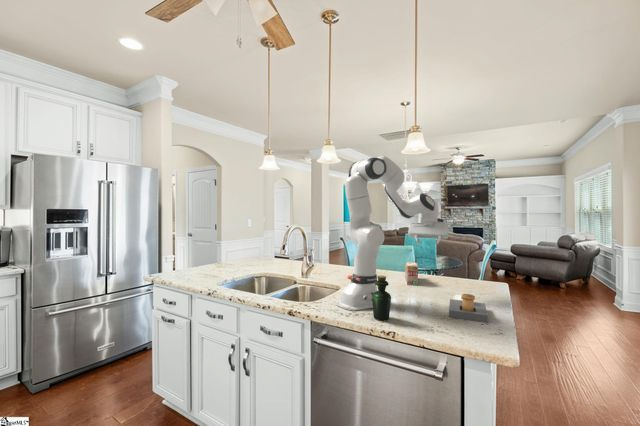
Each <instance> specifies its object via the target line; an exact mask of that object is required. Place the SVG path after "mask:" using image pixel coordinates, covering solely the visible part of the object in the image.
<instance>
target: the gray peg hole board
mask: <svg viewBox="0 0 640 426" xmlns="http://www.w3.org/2000/svg"><path fill="white" fill-rule="evenodd" d="M460 298H461V299H454V298H453V299H452V298H450V299H449V307H448V317H449V318H453V319H461V320H467V321H474V322H482V323H489V313H488V309H487V307H486V304H485V303H483V302H477V301H474V306H473V312H471V311H463V310H462V304H463V298H462V295H461V297H460Z"/></svg>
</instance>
